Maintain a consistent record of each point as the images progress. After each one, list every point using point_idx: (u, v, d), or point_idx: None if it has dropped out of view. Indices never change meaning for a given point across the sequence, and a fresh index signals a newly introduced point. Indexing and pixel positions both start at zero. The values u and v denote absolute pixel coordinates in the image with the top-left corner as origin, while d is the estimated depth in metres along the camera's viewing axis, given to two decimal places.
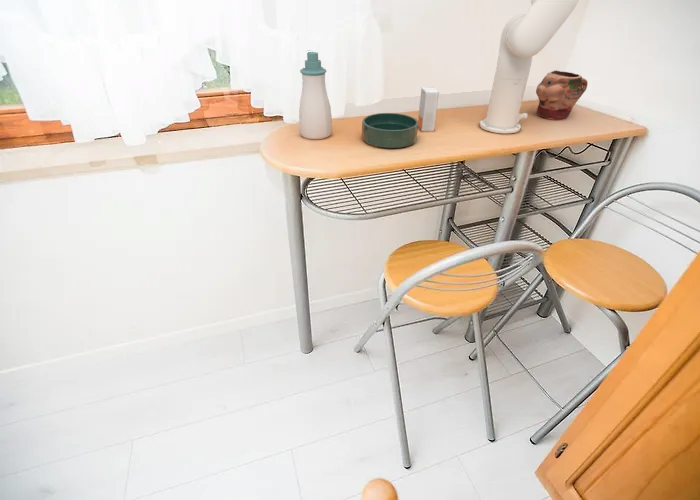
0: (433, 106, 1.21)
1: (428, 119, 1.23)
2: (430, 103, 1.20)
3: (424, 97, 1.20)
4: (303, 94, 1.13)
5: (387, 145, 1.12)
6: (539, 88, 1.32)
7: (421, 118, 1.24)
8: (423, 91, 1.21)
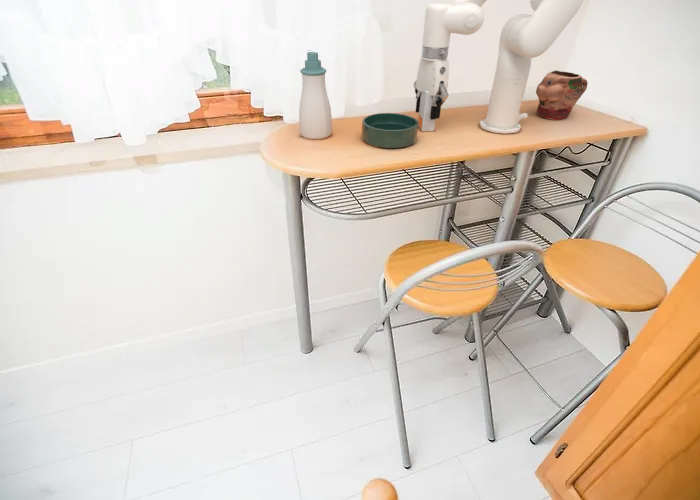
0: None
1: (428, 119, 1.23)
2: (430, 103, 1.20)
3: (424, 97, 1.20)
4: (303, 94, 1.13)
5: (387, 145, 1.12)
6: (539, 88, 1.32)
7: (421, 118, 1.24)
8: None
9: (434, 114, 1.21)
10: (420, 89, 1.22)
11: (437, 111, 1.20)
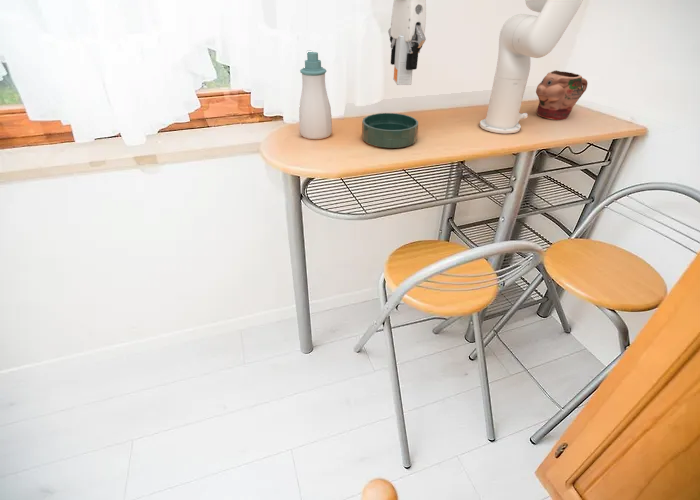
0: None
1: (404, 70, 1.08)
2: (405, 51, 1.05)
3: (399, 43, 1.04)
4: (303, 94, 1.13)
5: (387, 145, 1.12)
6: (539, 88, 1.32)
7: (396, 69, 1.09)
8: (398, 37, 1.05)
9: (410, 63, 1.05)
10: (394, 35, 1.06)
11: (414, 60, 1.05)
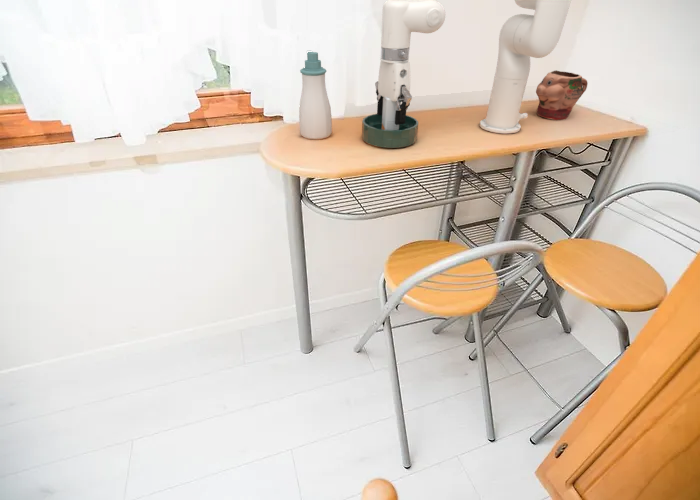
0: None
1: (390, 128, 1.14)
2: (391, 111, 1.11)
3: (385, 105, 1.11)
4: (303, 94, 1.13)
5: (387, 145, 1.12)
6: (539, 88, 1.32)
7: (383, 127, 1.16)
8: (384, 98, 1.12)
9: (399, 119, 1.10)
10: (382, 93, 1.12)
11: (402, 116, 1.10)
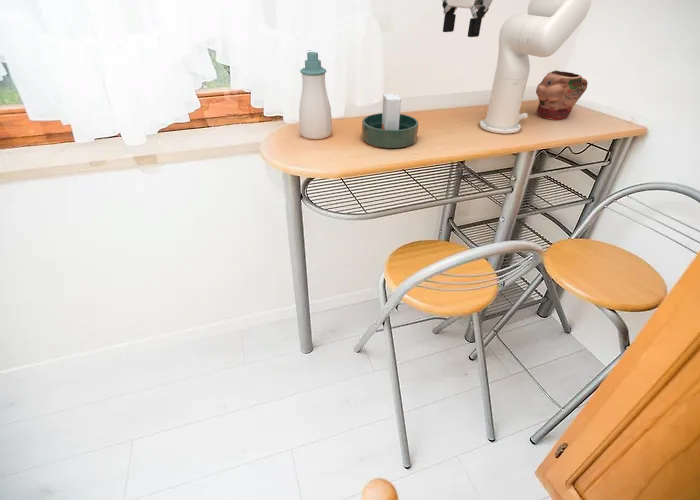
0: (395, 114, 1.12)
1: (390, 128, 1.14)
2: (391, 111, 1.11)
3: (385, 105, 1.11)
4: (303, 94, 1.13)
5: (387, 145, 1.12)
6: (539, 88, 1.32)
7: (383, 127, 1.16)
8: (384, 98, 1.12)
9: (473, 30, 0.97)
10: (452, 2, 0.99)
11: (477, 25, 0.96)
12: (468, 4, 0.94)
